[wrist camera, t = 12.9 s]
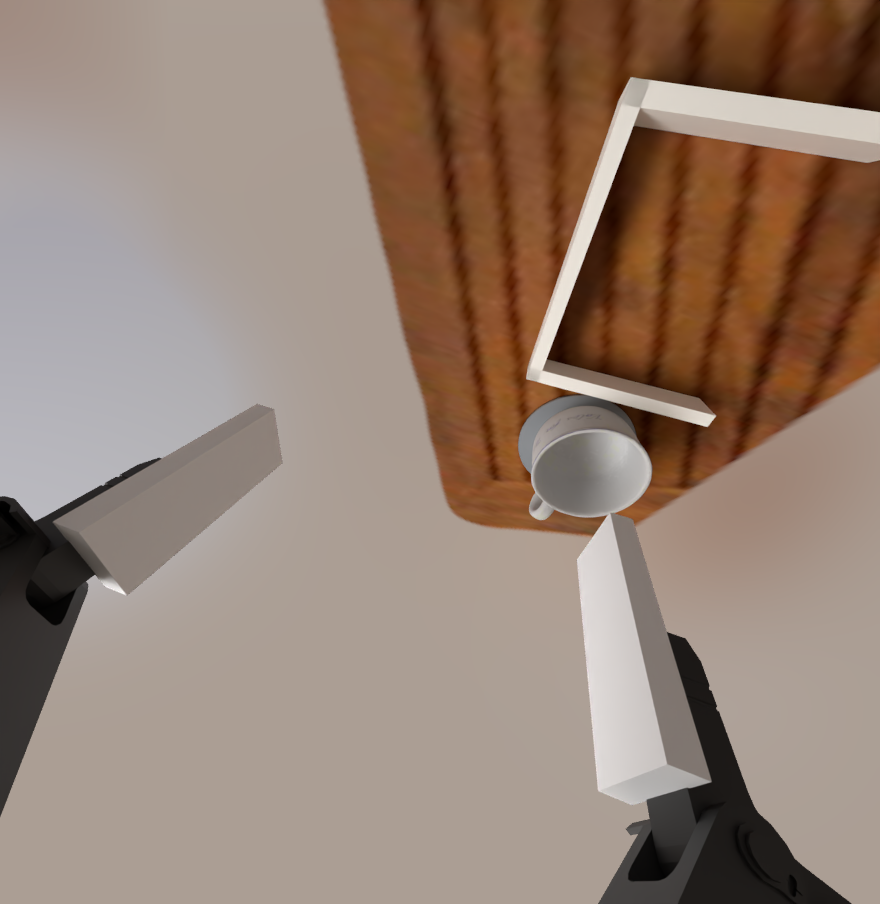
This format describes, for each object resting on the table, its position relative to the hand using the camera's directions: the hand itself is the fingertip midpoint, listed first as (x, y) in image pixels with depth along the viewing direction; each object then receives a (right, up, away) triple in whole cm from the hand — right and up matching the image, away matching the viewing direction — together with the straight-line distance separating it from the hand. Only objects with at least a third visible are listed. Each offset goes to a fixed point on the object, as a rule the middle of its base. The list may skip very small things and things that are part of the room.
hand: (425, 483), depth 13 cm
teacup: (+16, +2, +26) cm, 31 cm away
